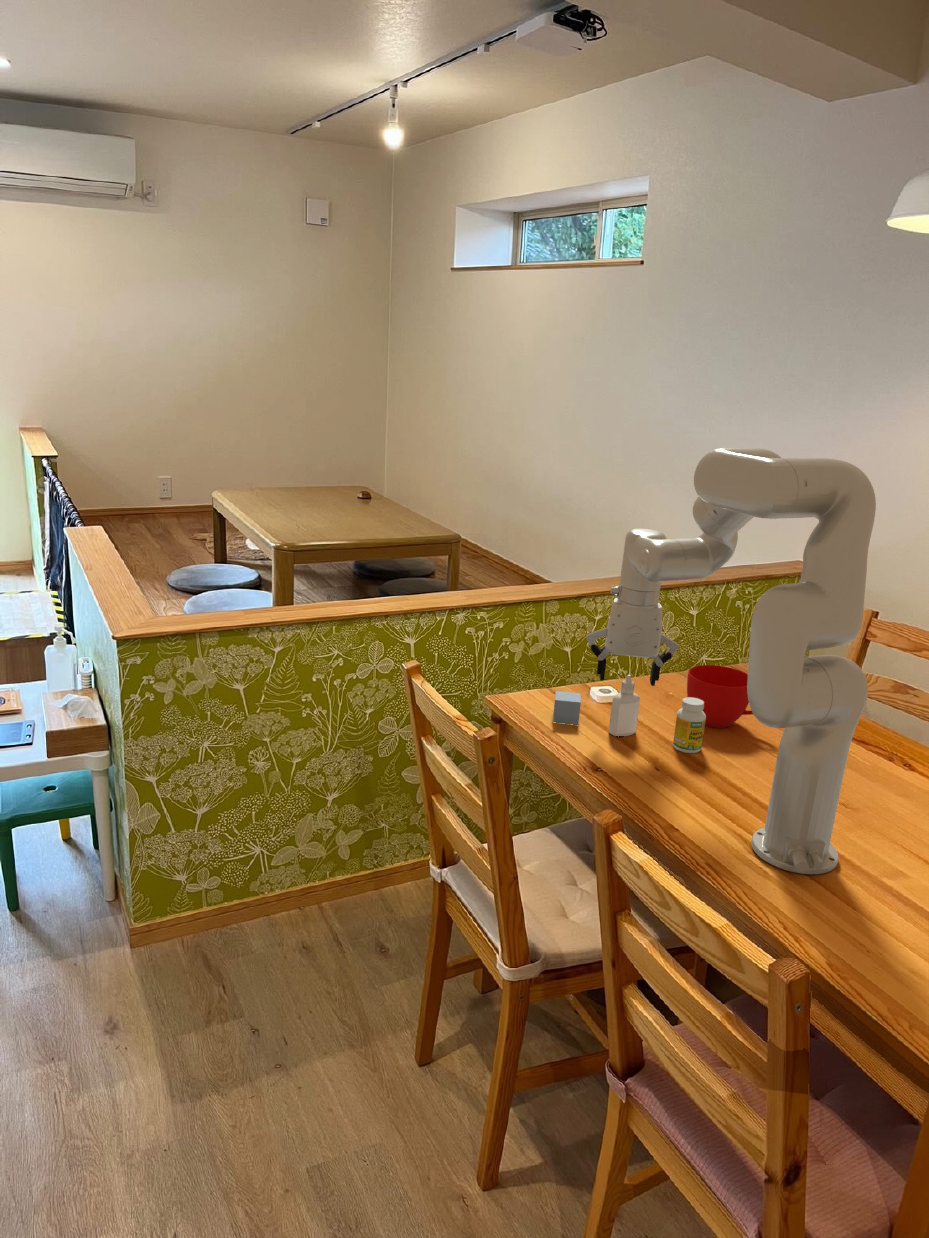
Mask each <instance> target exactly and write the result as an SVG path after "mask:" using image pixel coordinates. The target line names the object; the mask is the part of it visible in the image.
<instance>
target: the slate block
mask: <svg viewBox="0 0 929 1238" xmlns="http://www.w3.org/2000/svg"><path fill="white" fill-rule="evenodd" d="M581 695H582V694H581V692H580V693H579V692H570V691H559V690H555V694H554V705H553V715H552V717H553V718H552V723H553V722H556V723H555V724H557V723H565V724H564V725H566V724H573V725H572V726H576V725H578V726H579V721H580V712H581V706H582V705H581V704H582V697H581Z"/></svg>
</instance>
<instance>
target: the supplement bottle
mask: <svg viewBox="0 0 929 1238" xmlns="http://www.w3.org/2000/svg"><path fill="white" fill-rule="evenodd" d="M703 709H704V702H703V701H702V700H700V699H697V698H692V697H687V696H686V697H684V698H682V700H681V708H679V709H678V710H677V713H676V720H675V727H674V733H673V742H672V746H673V748H674V749H675V750H677V751H679V752H681V753H686V754H696V753H699V752H701V750H702V746H703V740H704V733H705V726H706V725H705V720H706V715H705V713H704V712H703V711H702V710H703Z"/></svg>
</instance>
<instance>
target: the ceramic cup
mask: <svg viewBox="0 0 929 1238" xmlns="http://www.w3.org/2000/svg"><path fill="white" fill-rule="evenodd" d="M747 681H748V672H745V671H742V670H739V669H737V668H733V667H729V666H722V665H715V664H703V665H701V664H700V665H696V666H693V667H691V668H690V669H688V672H687V682H686V695H687V696H686V698H687V697H692V698H697V699H700V700H702V701H703V702H704V709H703V710H702V711H703V712H704V713H705V715H706V720H705V726H706V727H711V728H717V729H724V728H728V727H730V726H731V725H732V724H734V723H736V721H738V720H739V719H740V718H741V717H742V716H746V715H747V716H751V715H754V714H753V712H752V710H746V709H747V708H748V705H749V701H748V692H747Z"/></svg>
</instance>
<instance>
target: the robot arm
mask: <svg viewBox="0 0 929 1238" xmlns="http://www.w3.org/2000/svg"><path fill="white" fill-rule="evenodd" d="M693 487H694V491H695V492H696V494H697V496H698V497H696V499H695V501H694V503H693V506H692V515H693V520H694V522H695V524H696V525H697V527H698V528H699V529H700V530H701V532H703V533H701V534H700V535H699V536H697V537H695V538H694V537H692V538H690V537H687V538H686V537H685V538H668V539H667V537H666V535H665V534H664V533H663V532H661V531H659V530H656V529H652V528H651V529H650V528H633V529H630V530H629V531H628V532H627V533H626V536H625V539H624V546H623V554H622V561H621V562H622V564H621V569H620V578H619V583H618V584H617V586H611V587H610V595H614V596H616V598H614V599H613V602H612V604H611V608H610V611H609V614H608V619H607V620H608V621H607V625H606V627H603V628H600V629H598V630H595V631H591V632H589V633H587V634H586V636H585V637H586V641H587V643H588V646H589V647H590V650H591V651H592V653H593V654H594V655H595V656H596V658H597V668H596V674H597V675H599V680H600V681H604V680H605V676H606V675H605V674H606V669H607V668H606V666H607V658H608V656H609V655H610V654H611V655H616V656H617V655H619V656H627V657H634V658H635V657H636V658H643V659H644V658H646V659H652V662H651V668H650V673H649V674H650V676H649V684H650V686H652V687H655V686H656V685H655V684H656V682H657V681H660V672H661V668H662V666H663V665H664V664H666V662H668V661H669V660H671V659H672V658H673V656H674V655H675V654H676V652H677V650H679V648H680V647H679V644H678V642H676V641H674V640H673V639H671V638H670V637H668V636H666V635H665V634H663V633H662V631H663V630H662V629H663V605H662V604H661V603H660V602H659V601H660V592H661V585H662V584H661V583H668V582H669V583H671V582H682V581H683V582H684V581H699V580H703V579H706V578H708V577H710V576H712V575H713V574H714V573H716V572H717V571H718V570H720V569H721V568H722V567H723V566H724V565H725V564H727V563H728V562H729V561H730V559H731V558H732V557H733V555H734V554H735V551H736V548H737V544H738V538H739V533H738V532H739V531H740V530H741V529H743V528H744V527H745V526H746V524H747V523H749V522H750V521H751V520H752V519H753V518H759V519H766V520H767V519H769V520H771V519H772V520H773V519H774V520H776V519H802V518H815V519H817V520H818V522H817V525H816V526H815V527H814V528H813V530H812V531H811V533H810V535H809V537H808V539H807V540H806V543H805V547H804V550H803V554H802V568H801V576H800V580H799V582H796V583H783V584H777V585H775V586H772V587H770V588H768V589H767V590H766V591H764V592H763V593H762V594H761V596H760V597H759V599H758V600H757V601H756V603H755V607H754V608H753V612H752V614H751V615H752V616H751V622H750V624H751V625H750V631H749V632H750V634H749V648H748V649H749V651H748V665H747V666H748V667H747V668H748V669H747V674H748V681H747V692H748V701H749V703H748V705H749V708H750V711H752V712H753V714H752V715H753V716H754V717H755V719H757V721H758V722H760V723H761V725H763V726H766V727H768V728H772V729H784V730H783V733H782V735H781V737H780V742H779V746H778V752H777V754H776V756H777V757H776V762H775V767H774V773H773V777H772V778H773V779H772V783H771V791H770V794H769V795H770V796H769V800H768V806H767V811H766V818H765V824H764V827H762V828H759V829H757V830H756V831H755V832H753V834H752V837H751V843H750V844H751V848H752V849H753V851H754V853H755V854H757V856H758V857H759V858H761V860H763V861H764V862H766V863H768V864H770V865H772V866H774V867H776V868H779V869H781V870H784V871H787V872H790V873H796V874H802V875H822V874H826V873H829V872H831V871H833V870H834V869H835V868H837V866H838V862H839V857H840V856H839V853H838V850H837V849H836V847H835V846H833V844H832V843H831V839H832V834H833V829H834V823H835V818H836V815H837V810H838V809H837V808H838V804H839V799H840V793H841V789H842V784H843V781H844V780H843V779H844V775H845V770H846V767H847V766H846V765H847V761H848V756H849V752H850V747H851V744H852V740H853V736H854V734H855V731H856V728H857V726H858V723H859V721H860V718H861V717H862V714H863V712H864V709H865V707H866V704H867V700H868V689H869V687H868V680H867V678H866V674H865V672H864V671H863V670H862V668H861V667H860V666H859V665H858V664H857V663H856V662H854V661H853V660H851V659H850V658H848V657H844V656H841V655H836V654H835V655H834V654H832V655H831V654H823V655H814V656H812V655H811V656H806V652H807V651H813V650H823V649H829V648H836V647H842V646H846V645H848V644H850V643H852V642H853V641H855V640H856V639H857V638H858V636H859V634H860V632H861V629H862V625H863V619H864V618H863V617H864V608H865V596H866V595H865V594H866V583H867V571H868V554H869V547H870V541H871V538H872V533H873V528H874V524H875V517H876V511H877V508H876V507H877V502H876V501H877V500H876V494H875V490H874V487H873V485H872V482H871V480H870V479H869V477H868V476H867V475H866V473H865V472H864V471H862V469H860V467H858V466H856V465H854V464H852V463H850V462H848V461H844V460H841V459H834V458H825V457H824V458H823V457H820V458H819V457H804V458H803V457H800V458H799V457H798V458H796V457H794V458H790V457H789V458H788V457H783V458H782V457H781V456H780V455H779V454H777V453H776V452H774V451H771V450H769V449H766V448H765V449H764V448H756V447H754V448H753V447H749V448H748V447H745V448H744V447H743V448H742V447H722V448H721V447H720V448H715V449H713V450H711V451H709V452H708V453H706V454H704V456H703V457H701V459H700V460H699V461H698V464H697V465H696V468H695V470H694V475H693ZM601 638H604V645H603V646H602V647H601V648H600V646H599V645H597V642H596V640H598V639H601ZM661 643H662V644H664V645H665V646H667V647H668V648H667V649H666V650H665V651H664V652H662V653H661V654H660V650H661Z"/></svg>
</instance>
